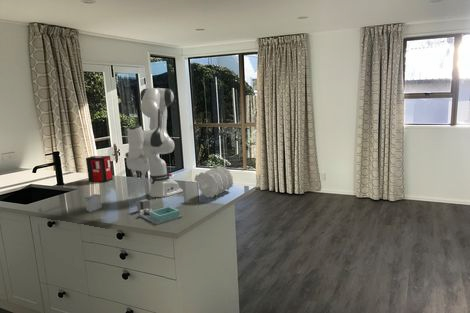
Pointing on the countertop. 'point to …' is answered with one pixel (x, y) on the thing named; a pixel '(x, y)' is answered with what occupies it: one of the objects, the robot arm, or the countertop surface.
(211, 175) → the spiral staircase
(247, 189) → the countertop surface
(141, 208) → the block
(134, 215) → the countertop surface
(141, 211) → the board
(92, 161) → the cleaning product box
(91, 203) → the medicine box
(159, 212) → the end holder
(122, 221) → the countertop surface
